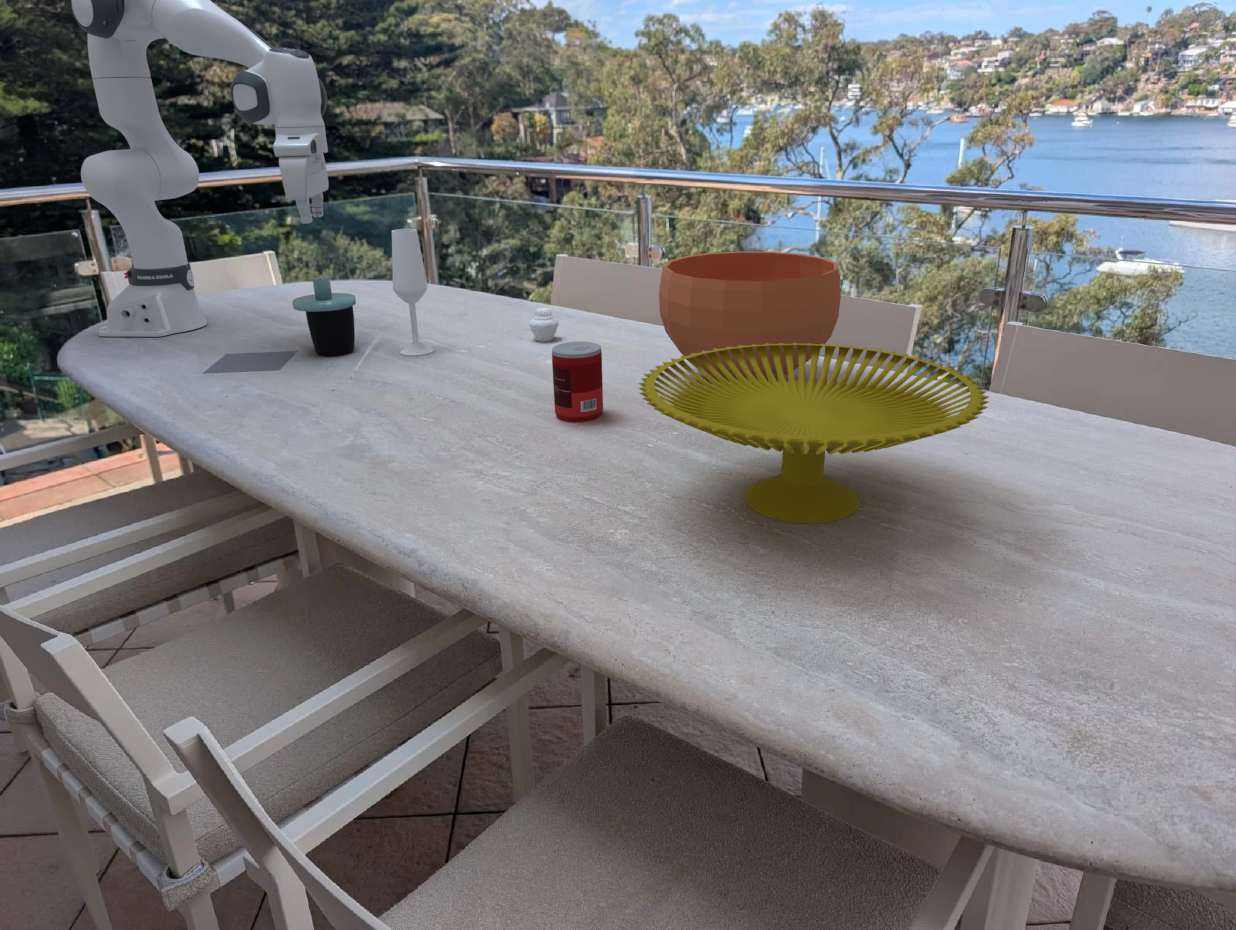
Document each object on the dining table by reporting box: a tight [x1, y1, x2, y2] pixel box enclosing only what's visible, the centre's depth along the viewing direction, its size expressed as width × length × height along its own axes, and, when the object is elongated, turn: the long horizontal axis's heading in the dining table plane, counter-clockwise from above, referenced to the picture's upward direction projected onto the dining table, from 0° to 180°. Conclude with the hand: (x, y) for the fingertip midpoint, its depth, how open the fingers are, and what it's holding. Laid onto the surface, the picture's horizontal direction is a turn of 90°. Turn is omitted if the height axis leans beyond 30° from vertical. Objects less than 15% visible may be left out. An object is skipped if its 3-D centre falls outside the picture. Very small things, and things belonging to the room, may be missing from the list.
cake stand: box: [638, 343, 990, 524], centre depth 111 cm, size 40×40×15 cm
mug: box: [305, 305, 356, 358], centre depth 182 cm, size 12×9×10 cm
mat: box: [203, 350, 298, 374], centre depth 177 cm, size 14×14×1 cm
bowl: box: [658, 250, 842, 383], centre depth 156 cm, size 30×30×20 cm
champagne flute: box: [391, 228, 434, 356], centre depth 181 cm, size 7×7×24 cm
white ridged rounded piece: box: [528, 306, 559, 343], centre depth 191 cm, size 6×6×7 cm
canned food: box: [551, 341, 604, 423], centre depth 144 cm, size 8×8×11 cm
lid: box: [291, 276, 357, 312], centre depth 179 cm, size 12×12×5 cm
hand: (312, 220), depth 174 cm, fingers open, 8 cm apart
